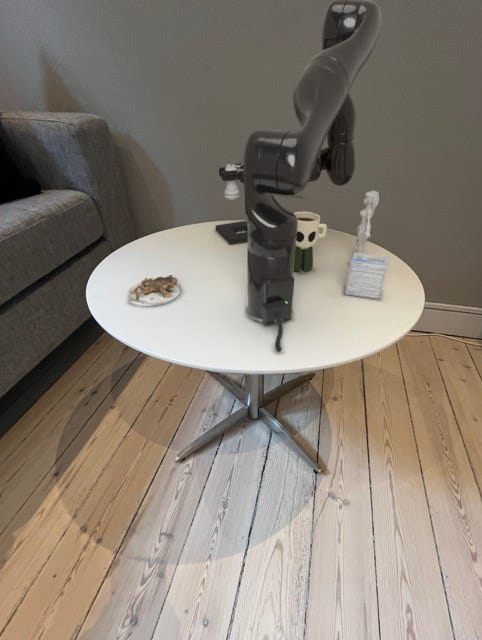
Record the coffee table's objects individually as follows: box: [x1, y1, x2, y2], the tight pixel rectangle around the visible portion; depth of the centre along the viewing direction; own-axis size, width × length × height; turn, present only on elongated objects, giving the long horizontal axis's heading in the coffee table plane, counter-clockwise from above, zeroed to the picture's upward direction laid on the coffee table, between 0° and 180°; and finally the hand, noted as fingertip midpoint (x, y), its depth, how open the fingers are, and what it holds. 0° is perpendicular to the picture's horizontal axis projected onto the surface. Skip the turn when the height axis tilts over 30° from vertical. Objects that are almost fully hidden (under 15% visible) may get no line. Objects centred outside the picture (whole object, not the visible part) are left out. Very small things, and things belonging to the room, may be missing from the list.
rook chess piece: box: [223, 163, 241, 201], centre depth 104 cm, size 4×4×8 cm
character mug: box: [292, 211, 328, 273], centre depth 95 cm, size 11×7×13 cm, turn 94°
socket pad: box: [215, 220, 248, 245], centre depth 115 cm, size 12×12×2 cm
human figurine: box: [349, 190, 380, 264], centre depth 96 cm, size 12×4×18 cm, turn 173°
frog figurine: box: [128, 274, 182, 307], centre depth 87 cm, size 12×12×4 cm
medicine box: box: [344, 251, 389, 300], centre depth 87 cm, size 8×4×9 cm, turn 74°
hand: (221, 174), depth 102 cm, fingers closed on rook chess piece, 3 cm apart
